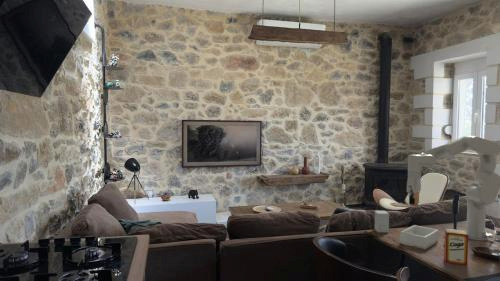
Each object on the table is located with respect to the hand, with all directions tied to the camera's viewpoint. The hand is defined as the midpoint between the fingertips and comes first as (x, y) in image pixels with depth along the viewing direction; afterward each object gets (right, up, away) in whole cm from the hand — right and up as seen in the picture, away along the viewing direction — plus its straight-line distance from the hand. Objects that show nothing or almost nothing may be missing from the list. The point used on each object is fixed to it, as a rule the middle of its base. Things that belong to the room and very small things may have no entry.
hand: (413, 203), depth 213 cm
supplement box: (-15, -21, +13) cm, 29 cm away
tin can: (0, -2, 0) cm, 2 cm away
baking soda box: (+3, -23, -38) cm, 45 cm away
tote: (-1, -22, -10) cm, 24 cm away
